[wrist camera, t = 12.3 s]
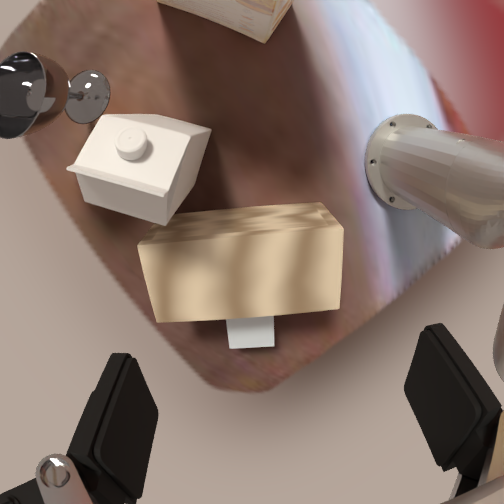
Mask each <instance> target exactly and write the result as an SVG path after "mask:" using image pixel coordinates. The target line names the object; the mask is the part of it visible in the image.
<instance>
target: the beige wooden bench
mask: <svg viewBox="0 0 504 504" xmlns="http://www.w3.org/2000/svg"><path fill="white" fill-rule="evenodd" d="M343 230H344V228H343V227H342V226H341V225H340V224H339V223H338V221H337V220H336V219H335V218H334V217H333V215H332V214H331V213H330V212H329V211H328V210H327V208H326V207H325V206H324V205H323V204H322V203H321V202H313V203H298V204H283V205H270V206H257V207H245V208H233V209H222V210H211V211H201V212H191V213H181V214H174V215H173V216H172V217H171V219H170V220H169V222H168V223H167V225H166V226H164V225H160V224H157V223H154V225H153V226H152V227H151V229H150V230H149V231H148V232H147V234H146V235H145V236H144V237H143V239H142V240H141V241H140V243H139V244H138V245H137V247H138V252H139V256H140V260H141V264H142V269H143V273H144V277H145V281H146V285H147V288H148V292H149V296H150V300H151V303H152V307H153V311H154V314H155V318H156V321H157V322H183V321H204V320H221V319H236V318H250V317H263V316H275V315H286V314H296V313H306V312H315V311H325V310H333V309H339V306H340V293H341V277H342V258H343Z"/></svg>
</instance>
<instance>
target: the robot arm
mask: <svg viewBox="0 0 504 504" xmlns="http://www.w3.org/2000/svg"><path fill="white" fill-rule="evenodd" d="M390 123H391V126H390ZM371 160H372V163H371V164H370V161H371ZM365 168H366V174H367V177H368V181H369V183H370V185H371V187H372V189H373V190H374V192H375V193H376V194H377V196H378V197H379V198H381V199H382V200H383V201H384V202H385V203H387V204H388V205H390V206H392V207H395V208H397V209H402V210H413V209H417V208H418V209H419V210H421V211H423V212H424V213H426V214H427V215H429V216H431V217H432V218H434V219H435V220H437V221H438V222H440V223H441V224H443V225H444V226H446V227H447V228H449V229H450V230H452V231H453V232H455V233H456V234H458V235H459V236H461V237H462V238H464V239H465V240H467V241H468V242H470V243H472V244H473V245H475V246H478V247H480V248H484V249H497V248H502V247H504V142H501V141H496V140H491V139H486V138H482V137H477V136H472V135H466V134H461V133H455V132H449V131H443V130H438V129H437V128H436V127H435V126H434V125H433V124H432V123H431V122H430V121H428V120H427V119H425V118H423V117H421V116H418V115H413V114H400V115H395V116H392V117H390V118H388V119H386V120H385V121H383V122H382V123H381V124H380V125H379V126H378V127H377V128H376V129H375V131H374V132H373V134H372V135H371V137H370V140H369V142H368V145H367V149H366V153H365ZM390 197H391V198H390ZM389 198H390V199H389ZM493 358H494V364H495V367H496V370H497V372H498V374H499V376H500V378H501V379H502V380H503V381H504V305H503V309H502V312H501V315H500V320H499V323H498V327H497V331H496V335H495V339H494V345H493ZM404 391H405V395H406V397H407V399H408V401H409V403H410V405H411V408H412V410H413V412H414V414H415V416H416V418H417V420H418V423H419V425H420V427H421V429H422V432H423V434H424V436H425V438H426V441H427V443H428V445H429V448H430V450H431V452H432V455H433V457H434V459H435V462H436V464H437V465H438V466H441V467H442V469H443V471H444V472H445V471H447V470H450V469H452V468H454V467H457V469H458V471H459V474H458V476H457V479H456V482H455V485H454V488H453V490H452V493H451V496H450V498H449V500H448V501H446V502H444V503H441V504H504V410H502V409H501V404H500V402H499V401H498V399H497V398H496V396H495V395H494V394H493V392H492V390H491V389H490V387H489V386H488V384H487V383H486V381H485V380H484V378H483V377H482V376H481V375H480V373H479V371H478V370H477V369H476V367H475V366H474V364H473V363H472V362H471V360H470V359H469V357H468V356H467V355H466V353H465V352H464V351H463V349H462V348H461V347H460V345H459V344H458V343H457V341H456V340H455V339H454V337H453V336H452V335H451V334H450V332H449V331H448V330H447V328H446V327H445V326H444V325H443V324H442V323H438V324H433V325H429V326H426V327H425V328H424V331H422V332H421V333H420V336H419V339H418V343H417V346H416V350H415V354H414V356H413V360H412V363H411V366H410V370H409V372H408V375H407V379H406V381H405V385H404ZM157 421H158V409H157V406H156V404H155V402H154V400H153V397H152V395H151V393H150V391H149V388H148V386H147V384H146V381H145V379H144V377H143V374H142V372H141V369H140V367H139V364H138V362H137V360H136V359H135V358H132V356H131V355H130V354H128V353H112V355H111V356H110V358H109V360H108V362H107V364H106V367H105V369H104V371H103V373H102V375H101V378H100V380H99V382H98V384H97V387H96V389H95V390H94V391H93V392H92V393H91V395H90V397H89V400H88V402H87V404H86V407H85V409H84V411H83V414H82V416H81V419H80V421H79V423H78V426H77V428H76V431H75V433H74V436H73V438H72V441H71V443H70V446H69V449H68V451H67V454H66V456H65V455H62V454H52V455H49V456H46V457H45V458H43V459H42V460H41V461H40V462H39V464H38V466H37V468H36V478H34V479H32V480H30V481H28V482H26V483H24V484H22V485H19V486H17V487H15V488H13V489H11V490H8V491H6V492H4V493H2V494H0V504H124V503H126V504H136V501H137V499H139V498H141V497H142V493H143V488H144V482H145V478H146V473H147V468H148V463H149V458H150V453H151V448H152V443H153V439H154V434H155V430H156V425H157Z"/></svg>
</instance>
